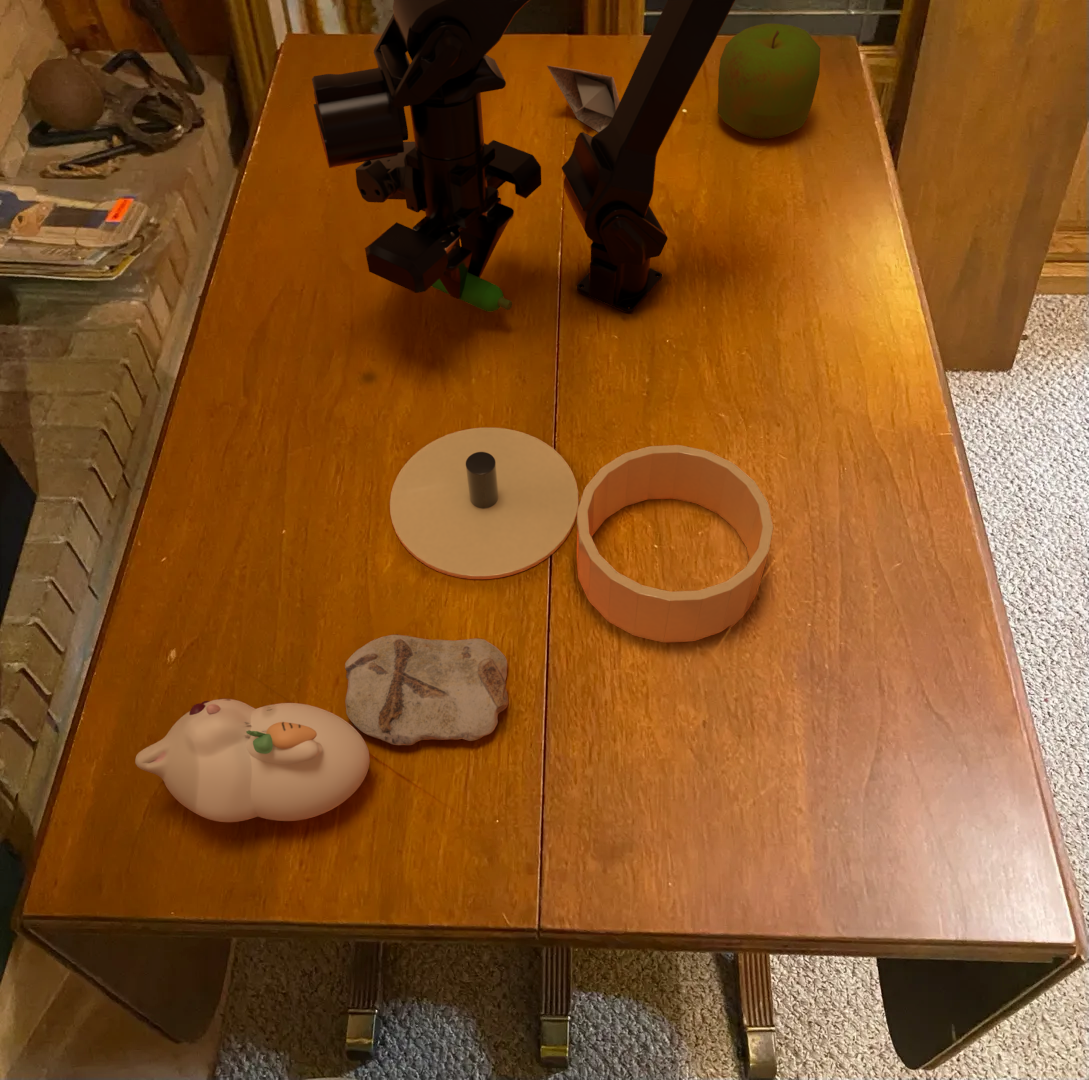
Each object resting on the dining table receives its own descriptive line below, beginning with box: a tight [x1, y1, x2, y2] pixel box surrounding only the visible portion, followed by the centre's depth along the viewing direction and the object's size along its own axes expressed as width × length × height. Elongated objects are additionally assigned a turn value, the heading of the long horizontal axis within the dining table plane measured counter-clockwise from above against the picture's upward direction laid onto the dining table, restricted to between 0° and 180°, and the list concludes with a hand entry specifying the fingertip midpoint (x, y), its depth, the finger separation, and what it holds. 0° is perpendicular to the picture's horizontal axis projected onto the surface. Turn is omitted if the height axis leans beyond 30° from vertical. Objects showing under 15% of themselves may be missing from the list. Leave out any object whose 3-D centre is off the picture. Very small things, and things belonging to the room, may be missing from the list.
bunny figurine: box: [134, 698, 371, 823], centre depth 69 cm, size 10×8×15 cm
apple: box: [717, 22, 821, 140], centre depth 114 cm, size 11×11×11 cm
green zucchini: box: [431, 273, 513, 313], centre depth 96 cm, size 10×3×3 cm, turn 56°
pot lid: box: [389, 426, 580, 580], centre depth 84 cm, size 16×16×6 cm
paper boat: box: [546, 65, 621, 133], centre depth 116 cm, size 12×6×9 cm
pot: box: [576, 444, 774, 643], centre depth 80 cm, size 15×15×6 cm
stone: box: [344, 634, 510, 746], centre depth 74 cm, size 12×9×3 cm
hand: (464, 288), depth 97 cm, fingers closed on green zucchini, 2 cm apart
